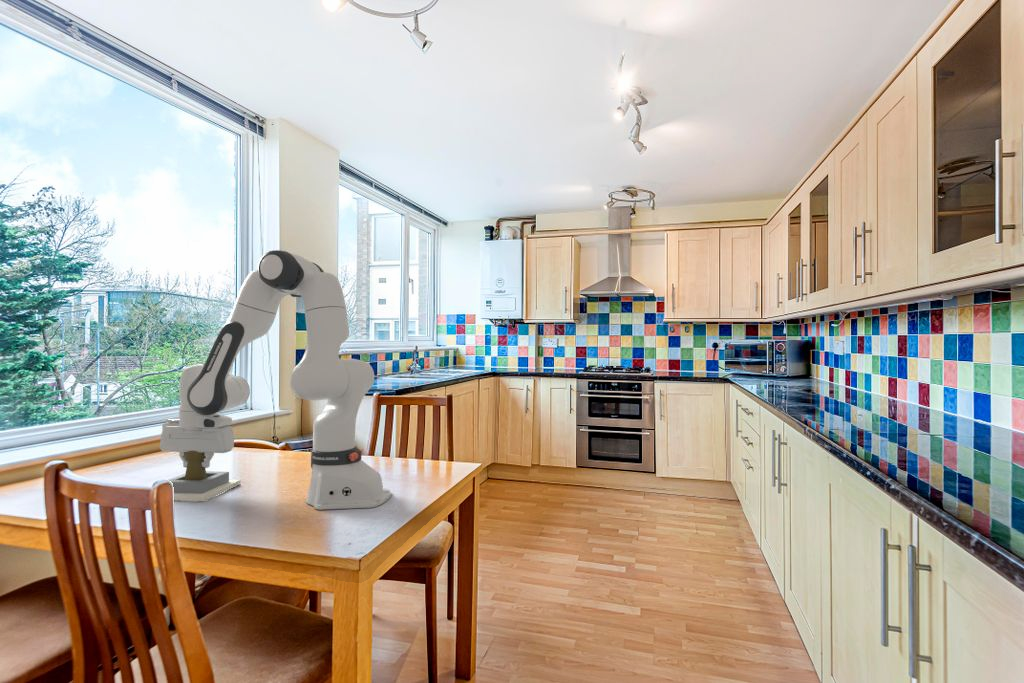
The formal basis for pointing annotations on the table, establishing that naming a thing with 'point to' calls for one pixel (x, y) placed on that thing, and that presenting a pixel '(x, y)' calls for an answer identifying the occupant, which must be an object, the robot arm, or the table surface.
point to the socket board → (207, 494)
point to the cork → (195, 466)
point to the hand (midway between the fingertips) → (196, 467)
